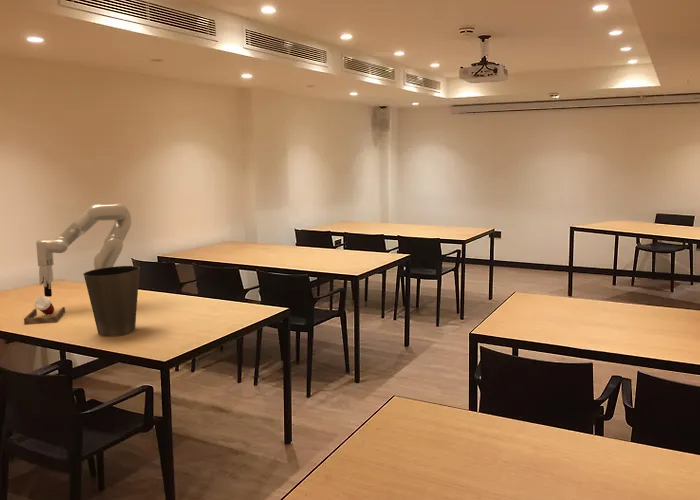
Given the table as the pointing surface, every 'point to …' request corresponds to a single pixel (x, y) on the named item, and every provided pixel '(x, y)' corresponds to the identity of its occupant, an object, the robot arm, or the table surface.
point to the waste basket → (113, 298)
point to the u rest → (31, 320)
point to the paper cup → (44, 305)
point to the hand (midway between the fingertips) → (48, 296)
